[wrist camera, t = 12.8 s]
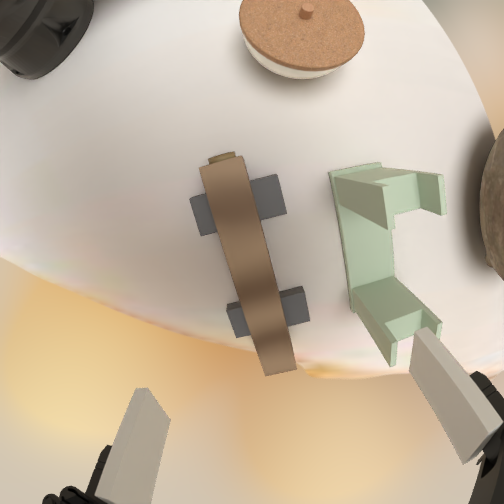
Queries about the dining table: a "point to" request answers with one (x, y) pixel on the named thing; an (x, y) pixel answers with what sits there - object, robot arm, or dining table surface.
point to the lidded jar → (301, 35)
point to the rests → (267, 206)
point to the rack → (383, 247)
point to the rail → (248, 259)
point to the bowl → (493, 206)
